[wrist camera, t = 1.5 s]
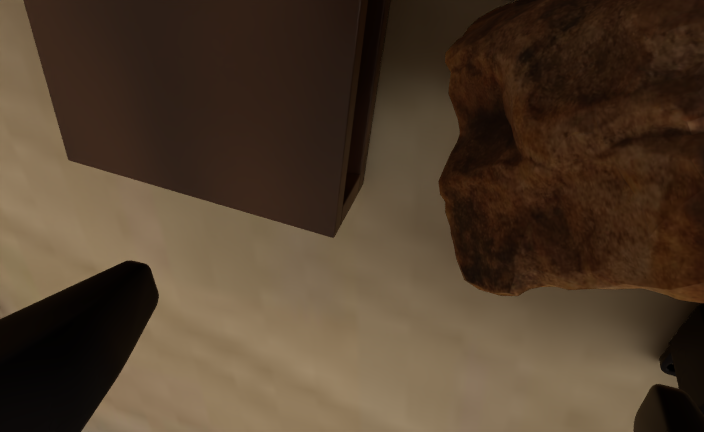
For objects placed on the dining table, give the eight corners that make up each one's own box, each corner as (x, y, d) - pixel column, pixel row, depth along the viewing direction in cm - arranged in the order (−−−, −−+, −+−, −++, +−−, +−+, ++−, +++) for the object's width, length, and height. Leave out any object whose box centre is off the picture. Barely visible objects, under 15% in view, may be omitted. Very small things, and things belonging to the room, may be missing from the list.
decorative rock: (501, 153, 20) (465, 380, 12) (430, 9, 18) (323, 166, 9) (930, -1, 14) (1504, 255, 5) (907, -255, 11) (1834, -475, 3)
